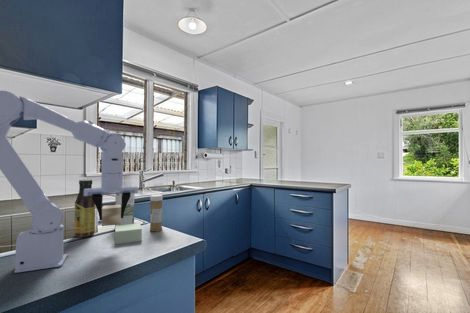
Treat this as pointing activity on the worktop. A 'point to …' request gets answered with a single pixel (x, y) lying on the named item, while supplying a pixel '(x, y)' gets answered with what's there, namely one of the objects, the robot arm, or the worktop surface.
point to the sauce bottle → (84, 211)
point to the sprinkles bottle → (156, 212)
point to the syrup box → (126, 209)
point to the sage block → (128, 233)
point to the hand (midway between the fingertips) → (111, 218)
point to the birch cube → (111, 215)
